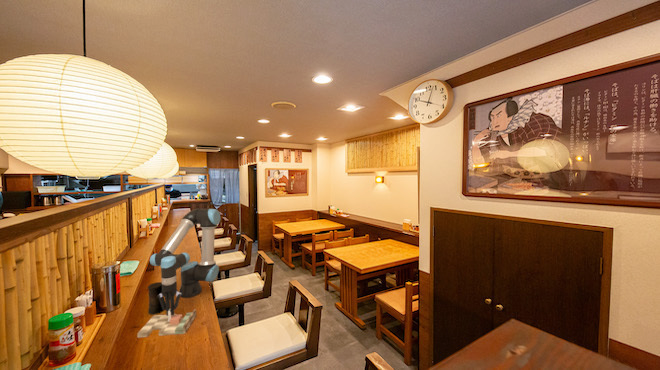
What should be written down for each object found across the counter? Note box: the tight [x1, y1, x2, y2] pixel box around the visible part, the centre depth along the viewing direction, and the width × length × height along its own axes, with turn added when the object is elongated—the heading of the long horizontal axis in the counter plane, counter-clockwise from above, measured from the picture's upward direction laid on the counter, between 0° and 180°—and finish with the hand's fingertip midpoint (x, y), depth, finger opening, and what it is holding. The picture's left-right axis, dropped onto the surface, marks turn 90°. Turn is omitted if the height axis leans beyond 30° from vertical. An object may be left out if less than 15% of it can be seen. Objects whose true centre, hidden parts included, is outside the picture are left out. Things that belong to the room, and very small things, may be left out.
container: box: [147, 281, 165, 316], centre depth 165 cm, size 9×9×18 cm
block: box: [170, 313, 184, 325], centre depth 150 cm, size 5×5×3 cm
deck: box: [136, 308, 197, 339], centre depth 150 cm, size 17×25×4 cm
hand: (170, 320), depth 150 cm, fingers closed
